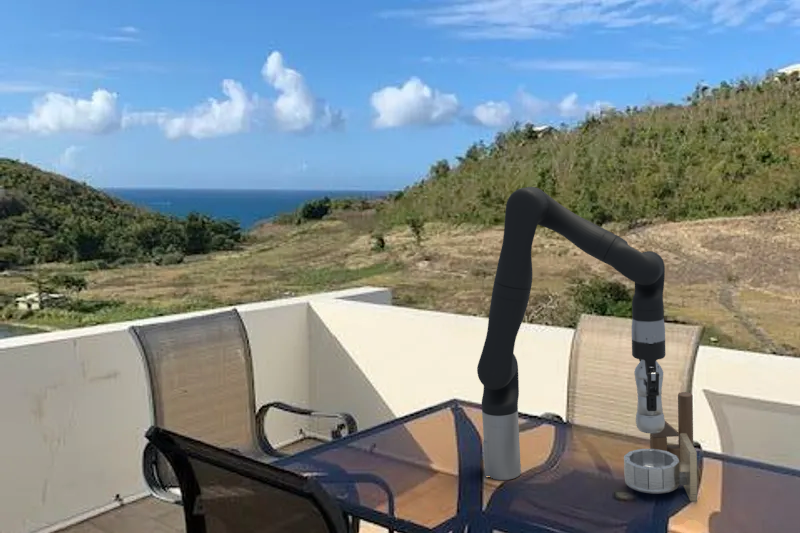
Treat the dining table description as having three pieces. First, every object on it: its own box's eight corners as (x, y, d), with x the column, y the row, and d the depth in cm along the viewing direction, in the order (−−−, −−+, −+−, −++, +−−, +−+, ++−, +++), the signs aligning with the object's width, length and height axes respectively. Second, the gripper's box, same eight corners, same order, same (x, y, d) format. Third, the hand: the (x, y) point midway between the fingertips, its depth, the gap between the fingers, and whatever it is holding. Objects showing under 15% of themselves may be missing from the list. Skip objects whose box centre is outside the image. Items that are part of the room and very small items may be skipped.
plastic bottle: (666, 437, 186) (665, 354, 183) (636, 436, 188) (635, 354, 184) (663, 426, 192) (662, 346, 189) (634, 426, 194) (632, 347, 191)
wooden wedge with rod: (650, 458, 210) (648, 393, 208) (691, 456, 210) (690, 391, 207) (653, 464, 207) (652, 397, 204) (695, 462, 206) (695, 395, 203)
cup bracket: (628, 501, 187) (627, 453, 185) (622, 479, 199) (621, 433, 197) (697, 501, 184) (696, 452, 183) (686, 479, 197) (686, 433, 195)
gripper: (627, 330, 194) (629, 396, 196) (636, 345, 180) (637, 417, 182) (659, 329, 193) (661, 396, 195) (670, 344, 179) (671, 416, 181)
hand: (649, 406), depth 189 cm, fingers closed on plastic bottle, 5 cm apart
